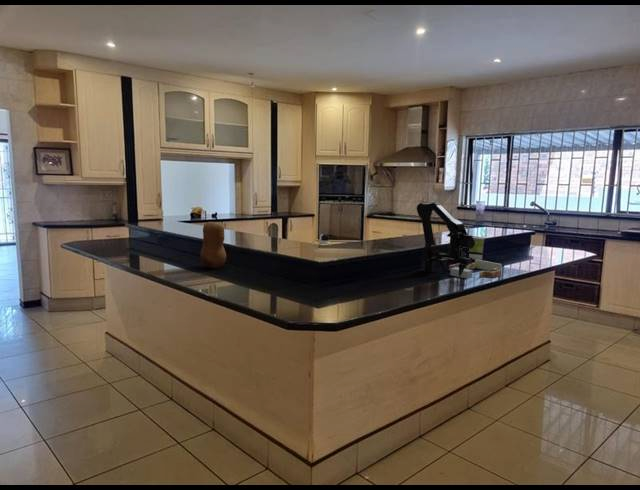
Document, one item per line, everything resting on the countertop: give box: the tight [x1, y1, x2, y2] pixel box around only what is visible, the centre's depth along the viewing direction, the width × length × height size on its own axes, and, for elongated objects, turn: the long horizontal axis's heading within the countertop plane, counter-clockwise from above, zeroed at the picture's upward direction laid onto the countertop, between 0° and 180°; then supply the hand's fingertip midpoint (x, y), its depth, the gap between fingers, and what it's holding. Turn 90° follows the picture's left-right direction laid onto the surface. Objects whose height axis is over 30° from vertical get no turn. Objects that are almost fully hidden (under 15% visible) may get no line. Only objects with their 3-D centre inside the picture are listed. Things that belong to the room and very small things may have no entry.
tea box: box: [468, 235, 485, 261], centre depth 305 cm, size 15×10×15 cm, turn 73°
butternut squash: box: [200, 221, 227, 269], centre depth 244 cm, size 14×13×25 cm
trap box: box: [448, 262, 502, 279], centre depth 262 cm, size 22×24×3 cm
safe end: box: [474, 259, 503, 272], centre depth 269 cm, size 1×16×5 cm, turn 41°
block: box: [449, 267, 474, 279], centre depth 250 cm, size 6×10×4 cm, turn 47°
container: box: [317, 233, 331, 245], centre depth 298 cm, size 8×8×13 cm
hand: (452, 274), depth 244 cm, fingers open, 9 cm apart
